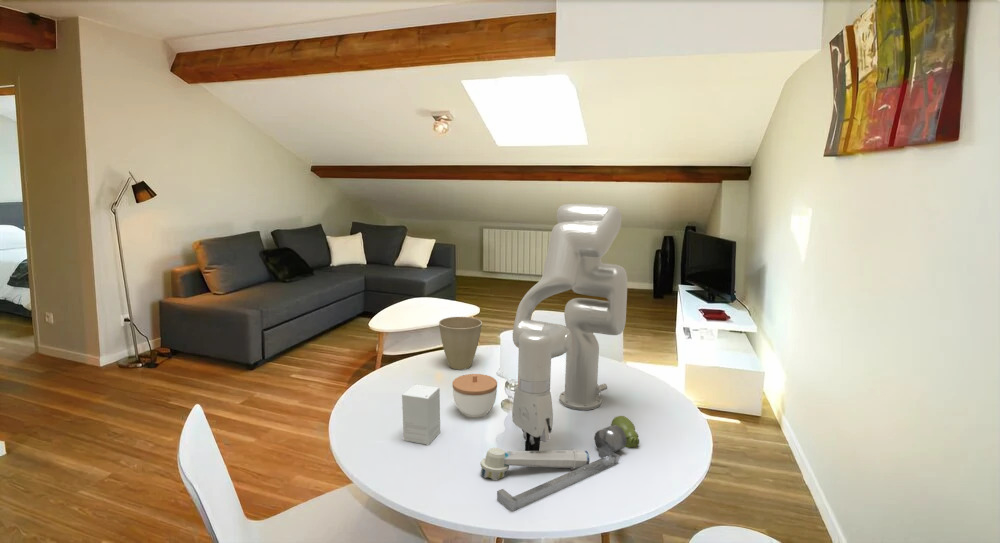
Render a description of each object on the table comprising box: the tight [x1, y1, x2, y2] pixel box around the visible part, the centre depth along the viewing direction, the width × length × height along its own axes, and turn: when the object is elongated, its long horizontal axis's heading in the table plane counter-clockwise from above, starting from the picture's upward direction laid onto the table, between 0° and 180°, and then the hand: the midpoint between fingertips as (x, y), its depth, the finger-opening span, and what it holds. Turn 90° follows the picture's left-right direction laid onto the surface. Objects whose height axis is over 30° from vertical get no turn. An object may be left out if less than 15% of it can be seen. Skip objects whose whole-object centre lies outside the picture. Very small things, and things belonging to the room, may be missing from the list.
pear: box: [610, 415, 640, 448], centre depth 139 cm, size 6×5×10 cm
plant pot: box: [438, 316, 483, 371], centre depth 187 cm, size 15×15×16 cm
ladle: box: [496, 425, 627, 513], centre depth 123 cm, size 37×8×6 cm, turn 126°
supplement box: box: [401, 383, 441, 446], centre depth 138 cm, size 7×7×13 cm
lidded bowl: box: [452, 373, 498, 419], centre depth 152 cm, size 13×13×11 cm
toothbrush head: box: [480, 447, 591, 481], centre depth 124 cm, size 5×7×25 cm
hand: (532, 455), depth 128 cm, fingers closed
